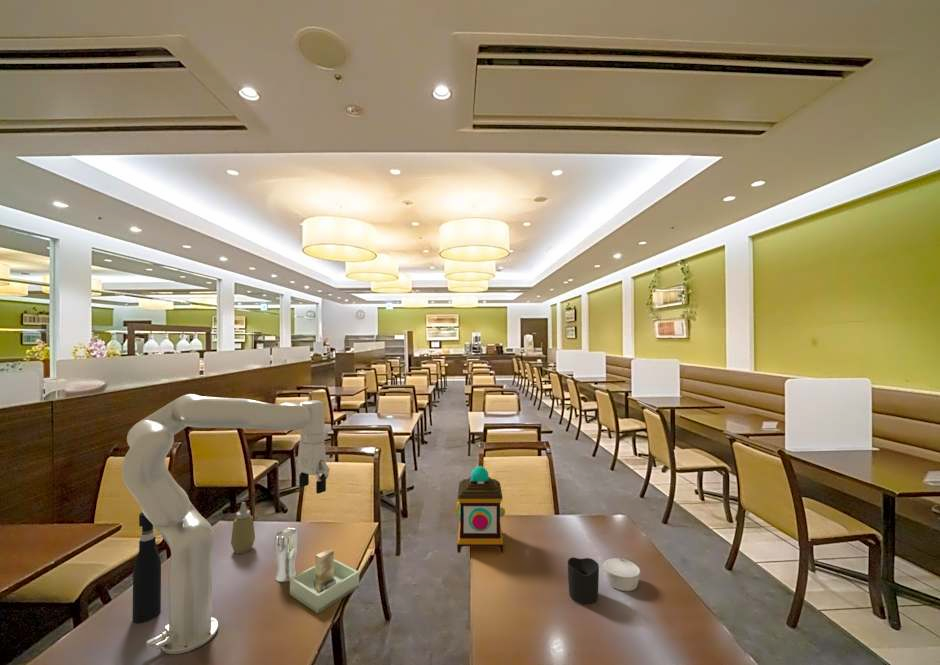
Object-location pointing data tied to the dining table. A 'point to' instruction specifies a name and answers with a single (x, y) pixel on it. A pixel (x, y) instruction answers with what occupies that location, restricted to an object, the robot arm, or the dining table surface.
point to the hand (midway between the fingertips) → (312, 489)
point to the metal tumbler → (285, 553)
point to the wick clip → (326, 584)
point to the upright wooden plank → (324, 568)
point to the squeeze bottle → (243, 531)
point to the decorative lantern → (479, 511)
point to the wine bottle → (146, 575)
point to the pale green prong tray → (318, 601)
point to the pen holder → (583, 580)
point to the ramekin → (621, 574)
